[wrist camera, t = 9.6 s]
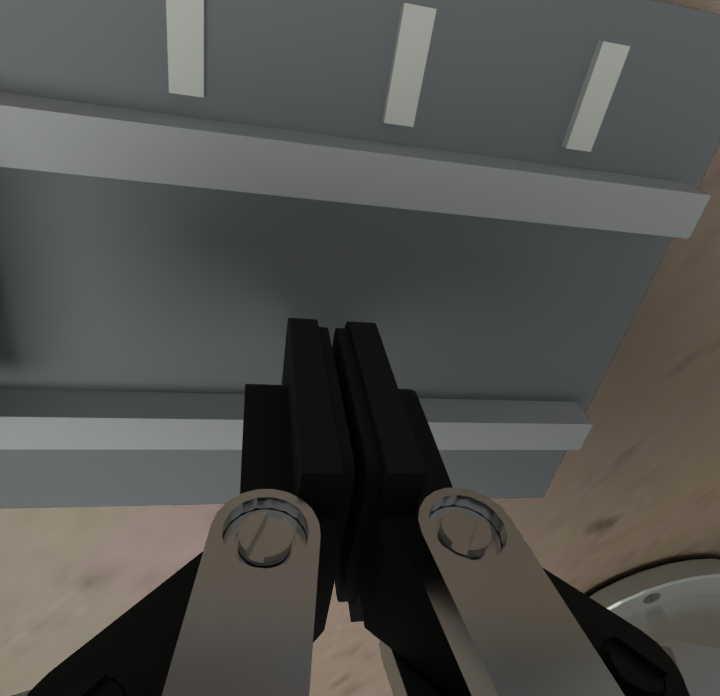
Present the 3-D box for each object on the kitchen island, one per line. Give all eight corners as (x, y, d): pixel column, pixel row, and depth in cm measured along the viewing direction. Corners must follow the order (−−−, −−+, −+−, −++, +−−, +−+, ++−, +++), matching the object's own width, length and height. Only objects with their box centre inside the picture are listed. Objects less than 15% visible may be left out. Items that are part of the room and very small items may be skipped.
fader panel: (709, 21, 12) (820, 30, 10) (519, 455, 20) (556, 521, 17) (-665, -271, 7) (-1120, -398, 5) (-229, 456, 15) (-325, 549, 12)
